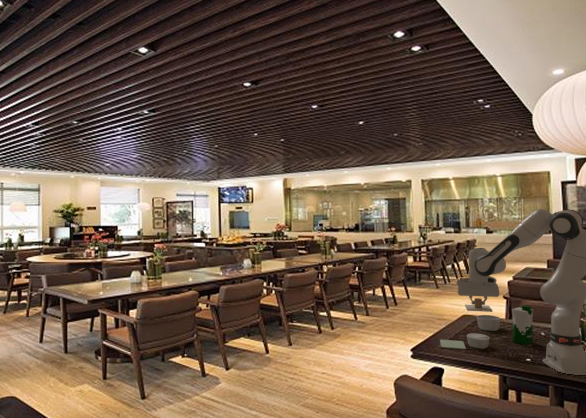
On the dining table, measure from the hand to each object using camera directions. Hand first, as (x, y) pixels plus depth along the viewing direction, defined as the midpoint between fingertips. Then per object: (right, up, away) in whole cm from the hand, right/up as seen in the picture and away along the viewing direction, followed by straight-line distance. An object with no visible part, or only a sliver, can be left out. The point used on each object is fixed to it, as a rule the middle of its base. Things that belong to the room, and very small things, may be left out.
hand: (478, 304), depth 223 cm
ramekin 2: (0, -22, 0) cm, 22 cm away
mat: (-13, -22, +2) cm, 26 cm away
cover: (0, -2, 0) cm, 2 cm away
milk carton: (+27, -22, +6) cm, 35 cm away
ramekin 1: (+21, -23, +33) cm, 45 cm away
